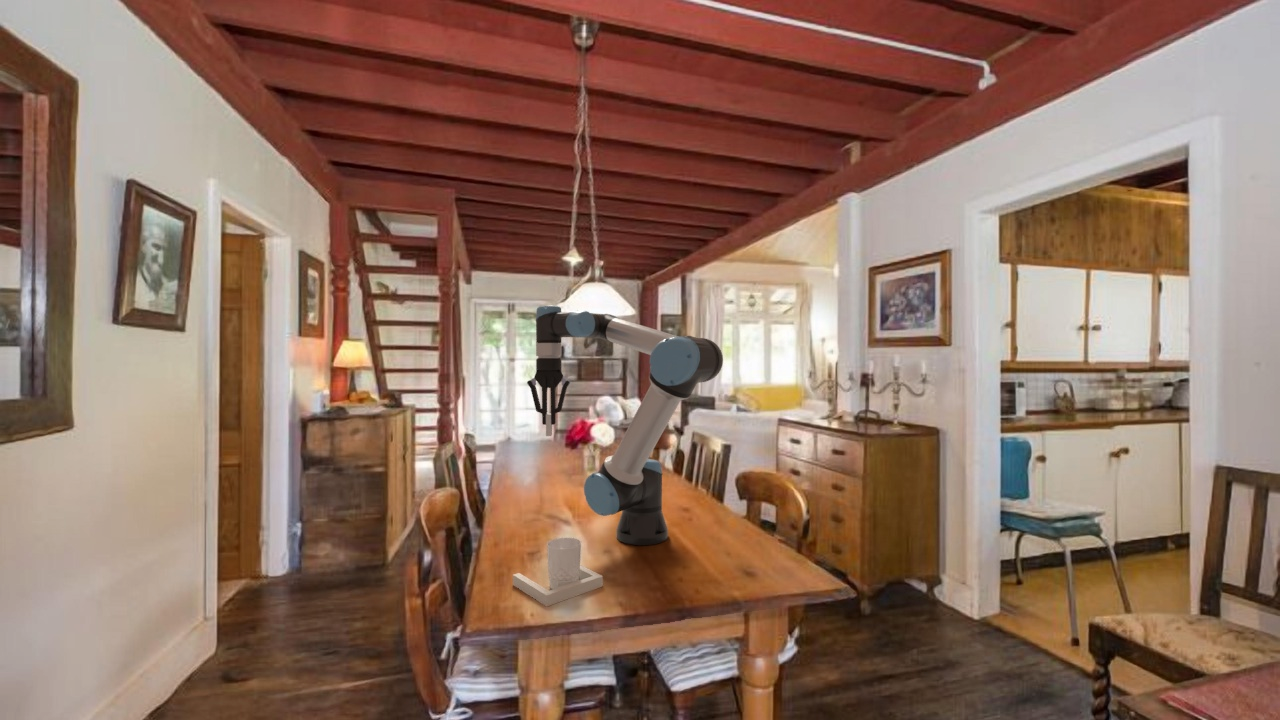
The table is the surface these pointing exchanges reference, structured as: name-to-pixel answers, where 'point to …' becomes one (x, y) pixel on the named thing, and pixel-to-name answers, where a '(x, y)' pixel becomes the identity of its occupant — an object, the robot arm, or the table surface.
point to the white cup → (563, 561)
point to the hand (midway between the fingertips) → (549, 435)
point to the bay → (547, 598)
